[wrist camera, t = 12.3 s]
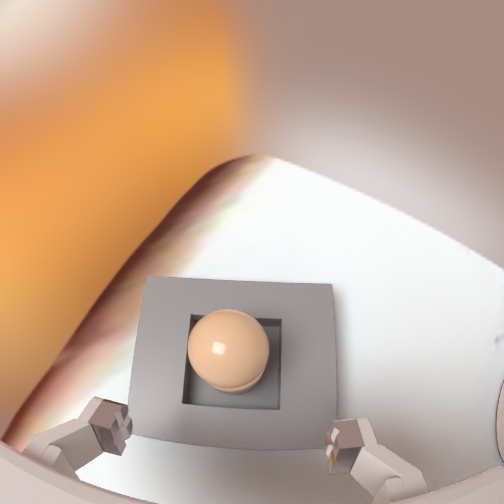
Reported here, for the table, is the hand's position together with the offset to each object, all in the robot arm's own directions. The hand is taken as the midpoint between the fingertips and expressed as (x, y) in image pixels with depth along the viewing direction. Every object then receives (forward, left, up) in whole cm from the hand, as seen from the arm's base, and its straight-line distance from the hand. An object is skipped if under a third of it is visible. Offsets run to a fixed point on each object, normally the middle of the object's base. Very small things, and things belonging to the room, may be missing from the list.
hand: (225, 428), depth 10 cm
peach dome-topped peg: (0, -4, -10) cm, 11 cm away
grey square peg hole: (0, -4, -11) cm, 12 cm away
